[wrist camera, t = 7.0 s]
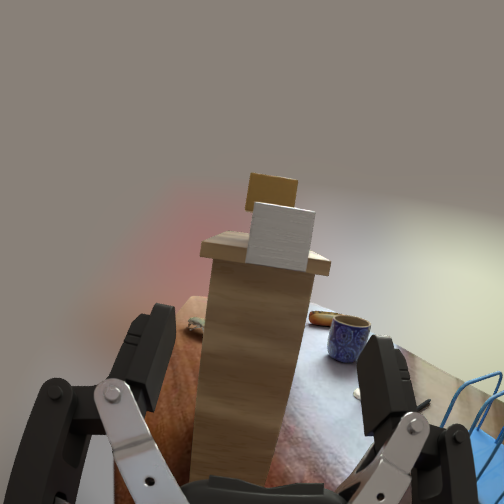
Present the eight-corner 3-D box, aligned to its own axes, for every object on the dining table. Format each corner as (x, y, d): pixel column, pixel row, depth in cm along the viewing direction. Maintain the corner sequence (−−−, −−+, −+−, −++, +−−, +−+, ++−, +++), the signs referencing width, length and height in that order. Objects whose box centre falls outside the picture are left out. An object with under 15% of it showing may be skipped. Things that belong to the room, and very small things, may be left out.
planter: (337, 367, 75) (347, 327, 74) (317, 351, 85) (325, 314, 84) (368, 364, 79) (379, 326, 78) (347, 349, 89) (356, 314, 88)
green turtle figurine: (183, 336, 80) (188, 318, 80) (185, 329, 90) (190, 313, 91) (215, 345, 81) (220, 327, 81) (214, 337, 91) (218, 321, 92)
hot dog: (343, 329, 109) (346, 316, 109) (309, 326, 108) (312, 312, 108) (339, 324, 114) (342, 312, 114) (306, 321, 113) (308, 308, 113)
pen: (432, 397, 57) (428, 397, 58) (399, 419, 49) (394, 419, 50) (433, 401, 57) (429, 401, 58) (399, 424, 48) (394, 424, 49)
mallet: (325, 275, 15) (345, 138, 15) (224, 260, 15) (246, 120, 15) (283, 243, 38) (292, 185, 37) (242, 236, 38) (251, 178, 37)
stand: (263, 517, 27) (331, 261, 24) (178, 506, 27) (201, 241, 24) (260, 412, 52) (292, 240, 49) (205, 404, 52) (228, 230, 49)
